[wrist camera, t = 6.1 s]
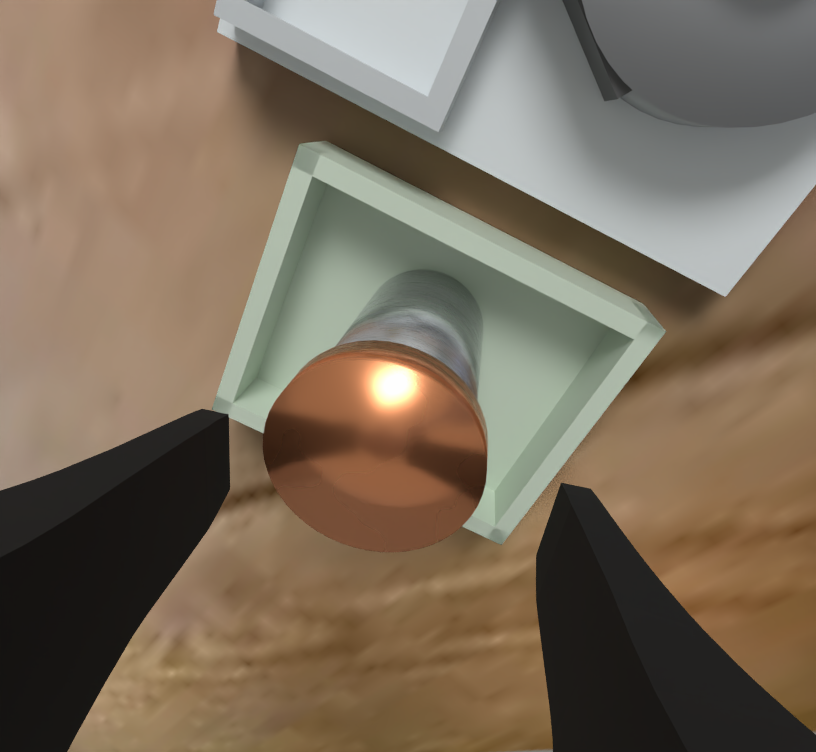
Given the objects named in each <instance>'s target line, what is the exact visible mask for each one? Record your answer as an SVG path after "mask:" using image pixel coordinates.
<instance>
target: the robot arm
mask: <svg viewBox="0 0 816 752" xmlns="http://www.w3.org/2000/svg"><path fill="white" fill-rule="evenodd" d="M229 490H230V463H229V414H224V413H219V412H215V411H210V410H205V409H201V410H198V411H195V412H193V413H190V414H188V415H186V416H183V417H181V418H179V419H177V420H174V421H172V422H170V423H168V424H166V425H163V426H161V427H159V428H157V429H155V430H153V431H150V432H148V433H146V434H144V435H142V436H139V437H137V438H135V439H133V440H131V441H128V442H126V443H124V444H122V445H119V446H117V447H115V448H113V449H110V450H108V451H106V452H103V453H101V454H98V455H96V456H93V457H91V458H89V459H86V460H84V461H81V462H79V463H76V464H74V465H71V466H69V467H67V468H64V469H62V470H59V471H56V472H54V473H51V474H48V475H46V476H43V477H40V478H37V479H35V480H32V481H29V482H26V483H23V484H20V485H17V486H14V487H11V488H8V489H4V490H1V491H0V752H67V751H68V749H69V747H70V745H71V743H72V741H73V740H74V738H75V736H76V734H77V732H78V730H79V729H80V727H81V725H82V723H83V721H84V720H85V718H86V716H87V714H88V712H89V711H90V709H91V707H92V705H93V703H94V702H95V700H96V698H97V696H98V694H99V693H100V691H101V689H102V687H103V686H104V684H105V682H106V680H107V679H108V677H109V675H110V674H111V672H112V670H113V668H114V667H115V665H116V663H117V662H118V660H119V658H120V656H121V655H122V653H123V651H124V650H125V648H126V646H127V645H128V643H129V641H130V639H131V638H132V636H133V635H134V633H135V632H136V630H137V629H138V627H139V626H140V624H141V623H142V621H143V620H144V618H145V617H146V615H147V614H148V612H149V611H150V610H151V608H152V607H153V606H154V604H155V603H156V601H157V600H158V599H159V597H160V596H161V595H162V593H163V592H164V590H165V589H166V588H167V586H168V585H169V583H170V582H171V581H172V579H173V578H174V577H175V575H176V574H177V572H178V571H179V570H180V568H181V567H182V566H183V564H184V563H185V561H186V560H187V559H188V557H189V556H190V554H191V553H192V552H193V550H194V549H195V547H196V546H197V545H198V543H199V542H200V540H201V539H202V538H203V536H204V535H205V533H206V532H207V530H208V529H209V527H210V525H211V524H212V522H213V520H214V518H215V516H216V515H217V513H218V511H219V509H220V507H221V505H222V503H223V501H224V499H225V498H226V496H227V494H228V492H229ZM536 602H537V611H538V619H539V627H540V636H541V643H542V651H543V659H544V667H545V674H546V682H547V690H548V698H549V705H550V714H551V725H552V736H553V752H816V735H815V734H814V733H813V732H812V731H811V730H809V729H808V728H807V727H806V726H805V725H804V724H802V723H801V722H800V721H799V720H798V719H797V718H795V717H794V716H793V715H792V714H791V713H790V712H789V711H788V710H786V709H785V708H784V707H783V706H782V705H781V704H780V703H779V702H778V701H776V700H775V699H774V698H773V697H772V696H771V695H770V694H769V693H768V692H766V691H765V690H764V689H763V688H762V687H761V686H760V685H759V684H758V683H756V682H755V681H754V680H753V679H752V678H751V677H750V676H749V675H748V674H747V673H746V672H745V671H744V670H743V669H742V668H741V667H740V666H739V665H738V664H737V663H736V662H735V661H734V660H733V659H732V658H731V657H730V656H729V655H728V654H727V653H726V652H725V651H724V650H723V649H722V648H721V647H720V646H719V645H718V644H717V643H716V642H715V641H714V640H713V639H712V638H711V637H710V636H709V635H708V634H707V633H706V632H705V631H704V630H703V629H702V628H701V627H700V626H699V624H698V623H697V622H696V621H695V620H694V619H693V618H692V617H691V616H690V615H689V614H688V612H687V611H686V610H685V609H684V608H683V607H682V606H681V604H680V603H679V602H678V601H677V600H676V599H675V597H674V596H673V595H672V594H671V593H670V592H669V590H668V589H667V588H666V587H665V586H664V585H663V583H662V582H661V581H660V580H659V578H658V577H657V576H656V575H655V574H654V572H653V571H652V570H651V569H650V567H649V566H648V565H647V564H646V562H645V561H644V560H643V558H642V557H641V556H640V555H639V553H638V552H637V551H636V549H635V548H634V547H633V545H632V544H631V543H630V541H629V540H628V539H627V537H626V536H625V535H624V533H623V532H622V531H621V529H620V528H619V526H618V525H617V524H616V522H615V521H614V520H613V518H612V517H611V516H610V514H609V513H608V511H607V510H606V509H605V507H604V506H603V504H602V503H601V502H600V500H599V499H598V498H597V496H596V495H595V494H594V492H593V491H592V490H591V489H589V488H584V487H579V486H574V485H569V484H564V483H561V485H560V488H559V491H558V494H557V497H556V499H555V502H554V505H553V508H552V511H551V514H550V517H549V520H548V523H547V526H546V529H545V531H544V534H543V537H542V540H541V543H540V546H539V549H538V552H537V555H536Z"/></svg>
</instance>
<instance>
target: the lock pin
mask: <svg viewBox="0 0 816 752" xmlns="http://www.w3.org/2000/svg"><path fill="white" fill-rule="evenodd" d="M482 340H483V319H482V314H481V311H480V308H479V305H478V304H477V302H476V300H475V298H474V297H473V295H472V294H471V292H470V291H469V290H468V289H467V288H466V287H465V286H464V285H463V284H461V283H460V282H459V281H457V280H456V279H454V278H453V277H451V276H449V275H446V274H444V273H441V272H438V271H433V270H423V269H420V270H411V271H406V272H403V273H400V274H398V275H396V276H394V277H392V278H390V279H389V280H387V281H386V282H385V283H384V284H383V285H382V286H380V287H379V289H378V290H377V291H376V292H375V294H374V295H373V296H372V298H371V299H370V300H369V302H368V303H367V304H366V306H365V307H364V308H363V310H362V311H361V312H360V314H359V315H358V316H357V318H356V319H355V320H354V322H353V323H352V324H351V326H350V327H349V328H348V330H347V331H346V332H345V334H344V335H343V337H342V338H341V339H340V341H339V342H338V343H337V345H336V346H335V347H333V348H331V349H329V350H326V351H324V352H322V353H320V354H319V355H317V356H316V357H314V358H313V359H312V360H310V361H309V362H308V363H307V364H306V365H305V366H304V367H303V368H301V369H300V371H299V372H298V373H297V374H296V376H295V377H294V378H293V379H292V380H291V382H290V383H289V384H288V385H287V387H286V388H285V389H284V390H283V391H282V393H281V394H280V395H279V397H278V398H277V399H276V400H275V402H274V404H273V406H272V408H271V409H270V411H269V414H268V417H267V420H266V422H265V427H264V433H263V453H264V460H265V464H266V468H267V471H268V474H269V476H270V478H271V481H272V483H273V485H274V487H275V488H276V490H277V492H278V494H279V495H280V496H281V498H282V499H283V500H284V502H285V503H286V505H287V506H288V507H289V508H290V509H291V510H292V511H293V512H294V513H295V514H296V515H297V516H298V517H299V518H300V519H302V520H303V521H304V522H305V523H306V524H308V525H309V526H311V527H312V528H313V529H315V530H316V531H318V532H320V533H322V534H323V535H325V536H327V537H329V538H331V539H333V540H335V541H338V542H340V543H343V544H346V545H349V546H352V547H355V548H359V549H364V550H369V551H377V552H403V551H410V550H415V549H420V548H423V547H427V546H430V545H433V544H435V543H437V542H439V541H441V540H443V539H445V538H447V537H448V536H450V535H451V534H453V533H454V532H456V531H457V530H458V529H459V528H460V527H462V526H463V525H464V524H465V523H466V521H467V520H468V519H469V518H470V517H471V516H472V514H473V513H474V511H475V510H476V508H477V506H478V504H479V502H480V500H481V498H482V495H483V492H484V488H485V484H486V476H487V458H488V433H487V427H486V422H485V418H484V415H483V412H482V410H481V407H480V405H479V403H478V401H477V399H478V387H479V375H480V364H481V352H482Z"/></svg>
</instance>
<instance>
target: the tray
mask: <svg viewBox="0 0 816 752" xmlns="http://www.w3.org/2000/svg"><path fill="white" fill-rule="evenodd" d="M420 269H423V270H433V271H438V272H441V273H444V274H446V275H449V276H451V277H453V278H454V279H456V280H457V281H459V282H460V283H461V284H463V285H464V286H465V287H466V288H467V289H468V290H469V291H470V292H471V294H472V295H473V297H474V298H475V300H476V302H477V304H478V305H479V308H480V311H481V314H482V319H483V340H482V352H481V364H480V375H479V387H478V399H477V401H478V403H479V405H480V407H481V410H482V412H483V415H484V418H485V422H486V427H487V433H488V458H487V476H486V484H485V488H484V492H483V495H482V498H481V500H480V502H479V504H478V506H477V508H476V510H475V511H474V513H473V514H472V516H471V517H470V518H469V519H468V520H467V521H466V523H465V524H464V525H463V526H462V527H464V528H466V529H469V530H471V531H473V532H475V533H477V534H479V535H481V536H483V537H486V538H488V539H490V540H492V541H494V542H496V543H498V544H501V545H502V544H503V542H504V541H505V540H506V538H507V537H508V536H509V535H510V533H511V532H512V531H513V529H514V528H515V527H516V526H517V524H518V523H519V522H520V520H521V519H522V518H523V516H524V515H525V514H526V513H527V511H528V510H529V509H530V507H531V506H532V505H533V503H534V502H535V501H536V500H537V498H538V497H539V496H540V494H541V493H542V492H543V490H544V489H545V488H546V487H547V485H548V484H549V483H550V481H551V480H552V479H553V478H554V476H555V475H556V474H557V472H558V471H559V470H560V468H561V467H562V466H563V465H564V463H565V462H566V461H567V459H568V458H569V457H570V455H571V454H572V453H573V452H574V450H575V449H576V448H577V446H578V445H579V444H580V442H581V441H582V440H583V439H584V437H585V436H586V435H587V433H588V432H589V431H590V430H591V428H592V427H593V426H594V424H595V423H596V422H597V420H598V419H599V418H600V417H601V415H602V414H603V413H604V411H605V410H606V409H607V407H608V406H609V405H610V404H611V402H612V401H613V400H614V398H615V397H616V396H617V395H618V393H619V392H620V391H621V389H622V388H623V387H624V385H625V384H626V383H627V382H628V380H629V379H630V378H631V376H632V375H633V374H634V372H635V371H636V370H637V369H638V367H639V366H640V365H641V363H642V362H643V361H644V359H645V358H646V357H647V356H648V354H649V353H650V352H651V350H652V349H653V348H654V347H655V345H656V344H657V343H658V341H659V340H660V339H661V337H662V336H663V335H664V334H665V332H666V331H665V330H664V328H663V327H662V326H661V325H660V324H659V322H658V321H657V320H656V319H655V317H654V316H653V315H652V314H651V313H650V311H649V310H648V309H647V308H646V307H645V305H644V304H643V303H641V302H639V301H637V300H635V299H633V298H631V297H629V296H627V295H625V294H623V293H621V292H619V291H617V290H615V289H613V288H612V287H610V286H608V285H606V284H604V283H602V282H600V281H598V280H596V279H594V278H592V277H590V276H588V275H586V274H584V273H582V272H580V271H578V270H577V269H575V268H573V267H571V266H569V265H567V264H565V263H563V262H561V261H559V260H557V259H555V258H553V257H551V256H549V255H547V254H545V253H543V252H542V251H540V250H538V249H536V248H534V247H532V246H530V245H528V244H526V243H524V242H522V241H520V240H518V239H516V238H514V237H512V236H510V235H508V234H507V233H505V232H503V231H501V230H499V229H497V228H495V227H493V226H491V225H489V224H487V223H485V222H483V221H481V220H479V219H477V218H475V217H473V216H472V215H470V214H468V213H466V212H464V211H462V210H460V209H458V208H456V207H454V206H452V205H450V204H448V203H446V202H444V201H442V200H440V199H438V198H437V197H435V196H433V195H431V194H429V193H427V192H425V191H423V190H421V189H419V188H417V187H415V186H413V185H411V184H409V183H407V182H405V181H403V180H402V179H400V178H398V177H396V176H394V175H392V174H390V173H388V172H386V171H384V170H382V169H380V168H378V167H376V166H374V165H372V164H370V163H368V162H367V161H365V160H363V159H361V158H359V157H357V156H355V155H353V154H351V153H349V152H347V151H345V150H343V149H341V148H339V147H337V146H335V145H333V144H332V143H330V142H328V141H319V142H310V143H302V144H299V146H298V149H297V153H296V156H295V159H294V162H293V165H292V168H291V171H290V174H289V177H288V180H287V183H286V186H285V189H284V192H283V195H282V198H281V201H280V204H279V207H278V210H277V213H276V216H275V219H274V222H273V225H272V228H271V231H270V234H269V237H268V241H267V244H266V247H265V250H264V253H263V256H262V259H261V262H260V265H259V268H258V271H257V274H256V277H255V280H254V283H253V286H252V289H251V292H250V295H249V298H248V301H247V304H246V307H245V310H244V313H243V316H242V319H241V322H240V325H239V328H238V332H237V335H236V338H235V341H234V344H233V347H232V350H231V353H230V356H229V359H228V362H227V365H226V368H225V371H224V374H223V377H222V380H221V383H220V386H219V389H218V392H217V395H216V398H215V401H214V404H213V407H212V410H215V411H217V412H219V413H224V414H229V418H232V419H234V420H236V421H238V422H240V423H242V424H244V425H247V426H249V427H251V428H253V429H255V430H257V431H259V432H261V433H264V427H265V422H266V420H267V417H268V414H269V411H270V409H271V408H272V406H273V404H274V402H275V400H276V399H277V398H278V397H279V395H280V394H281V393H282V391H283V390H284V389H285V388H286V387H287V385H288V384H289V383H290V382H291V380H292V379H293V378H294V377H295V376H296V374H297V373H298V372H299V371H300V369H301V368H303V367H304V366H305V365H306V364H307V363H308V362H309V361H310V360H312V359H313V358H314V357H316V356H317V355H319V354H320V353H322V352H324V351H326V350H329V349H331V348H333V347H335V346H336V345H337V343H338V342H339V341H340V339H341V338H342V337H343V335H344V334H345V332H346V331H347V330H348V328H349V327H350V326H351V324H352V323H353V322H354V320H355V319H356V318H357V316H358V315H359V314H360V312H361V311H362V310H363V308H364V307H365V306H366V304H367V303H368V302H369V300H370V299H371V298H372V296H373V295H374V294H375V292H376V291H377V290H378V289H379V287H380V286H382V285H383V284H384V283H385V282H386V281H387V280H389V279H390V278H392V277H394V276H396V275H398V274H400V273H403V272H406V271H411V270H420Z"/></svg>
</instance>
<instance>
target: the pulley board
mask: <svg viewBox="0 0 816 752" xmlns="http://www.w3.org/2000/svg"><path fill="white" fill-rule="evenodd" d="M214 15H215V16H217V17H219V18H220V22H219V26H218V30H217V32H218V33H220V34H222V35H224V36H226V37H228V38H230V39H232V40H234V41H236V42H238V43H239V44H241V45H243V46H245V47H247V48H249V49H251V50H253V51H255V52H257V53H259V54H261V55H262V56H264V57H266V58H268V59H270V60H272V61H274V62H276V63H278V64H280V65H282V66H284V67H285V68H287V69H289V70H291V71H293V72H295V73H297V74H299V75H301V76H303V77H305V78H307V79H308V80H310V81H312V82H314V83H316V84H318V85H320V86H322V87H324V88H326V89H328V90H330V91H331V92H333V93H335V94H337V95H339V96H341V97H343V98H345V99H347V100H349V101H351V102H353V103H354V104H356V105H358V106H360V107H362V108H364V109H366V110H368V111H370V112H372V113H374V114H376V115H378V116H379V117H381V118H383V119H385V120H387V121H389V122H391V123H393V124H395V125H397V126H399V127H401V128H402V129H404V130H406V131H408V132H410V133H412V134H414V135H416V136H418V137H420V138H422V139H424V140H425V141H427V142H429V143H431V144H433V145H435V146H437V147H439V148H441V149H443V150H445V151H447V152H448V153H450V154H452V155H454V156H456V157H458V158H460V159H462V160H464V161H466V162H468V163H470V164H471V165H473V166H475V167H477V168H479V169H481V170H483V171H485V172H487V173H489V174H491V175H493V176H494V177H496V178H498V179H500V180H502V181H504V182H506V183H508V184H510V185H512V186H514V187H516V188H517V189H519V190H521V191H523V192H525V193H527V194H529V195H531V196H533V197H535V198H537V199H539V200H540V201H542V202H544V203H546V204H548V205H550V206H552V207H554V208H556V209H558V210H560V211H562V212H563V213H565V214H567V215H569V216H571V217H573V218H575V219H577V220H579V221H581V222H583V223H585V224H586V225H588V226H590V227H592V228H594V229H596V230H598V231H600V232H602V233H604V234H606V235H608V236H609V237H611V238H613V239H615V240H617V241H619V242H621V243H623V244H625V245H627V246H629V247H631V248H632V249H634V250H636V251H638V252H640V253H642V254H644V255H646V256H648V257H650V258H652V259H654V260H655V261H657V262H659V263H661V264H663V265H665V266H667V267H669V268H671V269H673V270H675V271H677V272H678V273H680V274H682V275H684V276H686V277H688V278H690V279H692V280H694V281H696V282H698V283H700V284H701V285H703V286H705V287H707V288H709V289H711V290H713V291H715V292H717V293H719V294H721V295H723V296H725V297H726V296H727V294H728V293H729V292H730V291H731V289H732V288H733V287H734V286H735V284H736V283H737V282H738V281H739V279H740V278H741V277H742V276H743V274H744V273H745V272H746V271H747V269H748V268H749V267H750V266H751V264H752V263H753V262H754V261H755V259H756V258H757V257H758V256H759V254H760V253H761V252H762V251H763V249H764V248H765V247H766V246H767V245H768V243H769V242H770V241H771V240H772V238H773V237H774V236H775V235H776V233H777V232H778V231H779V230H780V228H781V227H782V226H783V225H784V223H785V222H786V221H787V220H788V218H789V217H790V216H791V215H792V213H793V212H794V211H795V210H796V208H797V207H798V206H799V205H800V203H801V202H802V201H803V200H804V198H805V197H806V196H807V195H808V193H809V192H810V191H811V190H812V189H813V187H814V186H815V185H816V0H217V2H216V6H215V10H214Z"/></svg>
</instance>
